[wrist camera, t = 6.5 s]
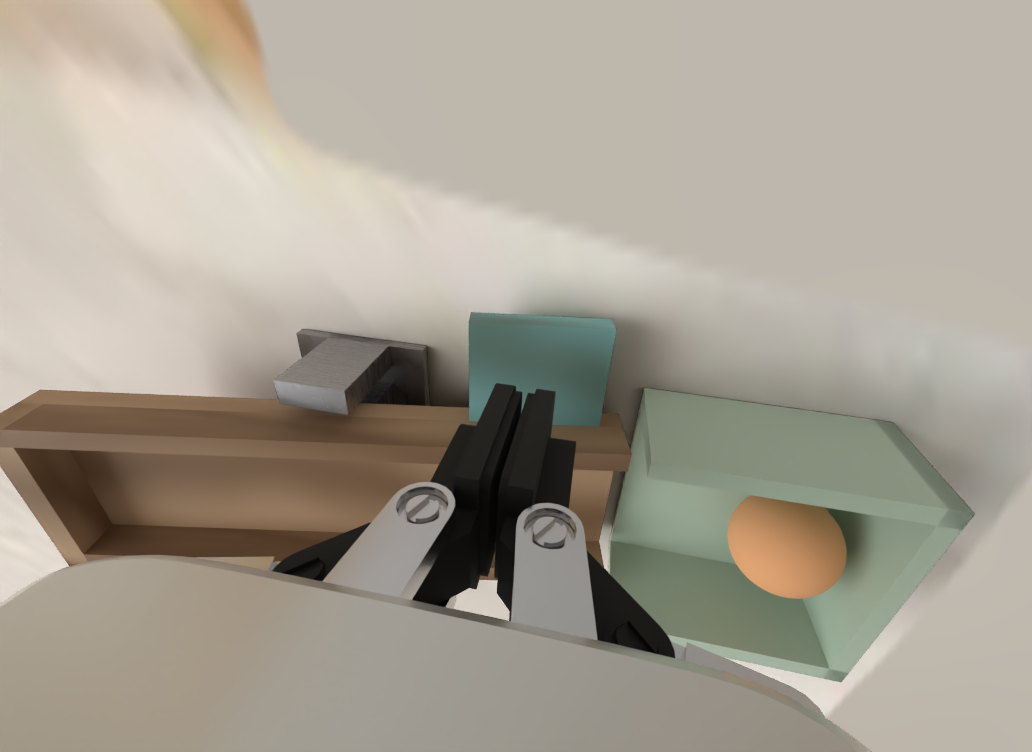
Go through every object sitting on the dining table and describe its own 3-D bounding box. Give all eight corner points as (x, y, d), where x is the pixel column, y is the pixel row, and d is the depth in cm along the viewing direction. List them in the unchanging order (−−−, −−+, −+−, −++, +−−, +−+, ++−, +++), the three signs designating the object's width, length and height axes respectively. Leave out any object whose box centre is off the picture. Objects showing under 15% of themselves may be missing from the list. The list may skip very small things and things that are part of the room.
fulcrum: (436, 519, 22) (406, 586, 18) (338, 500, 22) (293, 562, 19) (426, 345, 17) (384, 397, 14) (302, 329, 18) (236, 374, 14)
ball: (705, 530, 18) (795, 540, 18) (732, 614, 15) (842, 627, 15) (730, 463, 16) (831, 473, 16) (767, 543, 13) (892, 557, 13)
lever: (593, 537, 19) (601, 583, 17) (114, 520, 19) (69, 566, 17) (636, 319, 14) (655, 352, 12) (-18, 289, 14) (-102, 318, 12)
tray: (801, 580, 19) (841, 682, 16) (608, 544, 20) (606, 631, 17) (893, 422, 15) (975, 513, 11) (644, 387, 16) (651, 461, 13)
